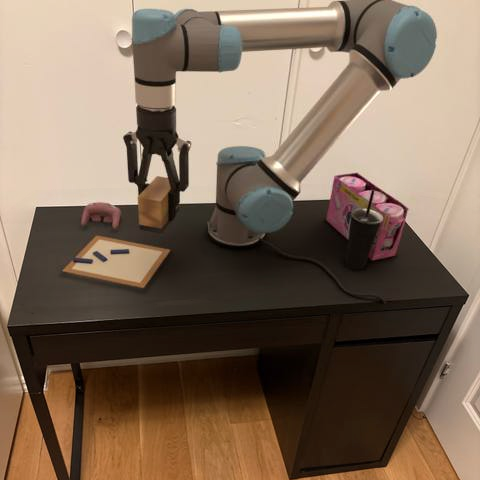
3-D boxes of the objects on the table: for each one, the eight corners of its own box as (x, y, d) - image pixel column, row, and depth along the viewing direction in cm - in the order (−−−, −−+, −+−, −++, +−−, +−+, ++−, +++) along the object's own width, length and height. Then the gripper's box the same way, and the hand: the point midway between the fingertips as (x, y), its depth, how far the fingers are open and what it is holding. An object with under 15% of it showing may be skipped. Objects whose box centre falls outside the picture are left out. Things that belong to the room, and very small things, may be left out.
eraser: (178, 210, 115) (178, 179, 110) (161, 233, 107) (160, 201, 102) (157, 207, 116) (156, 175, 111) (139, 229, 107) (137, 196, 103)
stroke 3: (129, 251, 124) (129, 248, 124) (129, 253, 124) (129, 251, 123) (110, 251, 124) (110, 249, 123) (110, 254, 123) (110, 252, 122)
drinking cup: (372, 260, 130) (391, 187, 117) (368, 276, 124) (388, 201, 112) (342, 253, 132) (358, 181, 119) (337, 268, 126) (353, 194, 113)
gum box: (399, 258, 132) (414, 211, 123) (374, 264, 129) (387, 216, 120) (347, 216, 148) (357, 171, 139) (324, 220, 145) (333, 175, 137)
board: (170, 253, 127) (170, 249, 126) (144, 292, 114) (143, 287, 113) (96, 239, 130) (96, 235, 129) (62, 275, 117) (61, 270, 116)
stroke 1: (93, 261, 120) (92, 259, 120) (91, 264, 119) (91, 261, 119) (74, 259, 120) (74, 257, 120) (73, 262, 119) (72, 260, 119)
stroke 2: (107, 260, 121) (107, 258, 120) (103, 262, 120) (102, 260, 120) (97, 252, 123) (96, 250, 123) (92, 254, 122) (92, 252, 122)
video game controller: (121, 230, 137) (122, 204, 135) (116, 231, 132) (117, 204, 131) (85, 227, 137) (86, 200, 136) (79, 227, 133) (80, 200, 131)
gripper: (207, 106, 98) (204, 215, 112) (119, 93, 100) (127, 201, 115) (195, 118, 92) (194, 231, 107) (102, 103, 94) (113, 216, 109)
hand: (159, 215), depth 111 cm, fingers closed on eraser, 5 cm apart
